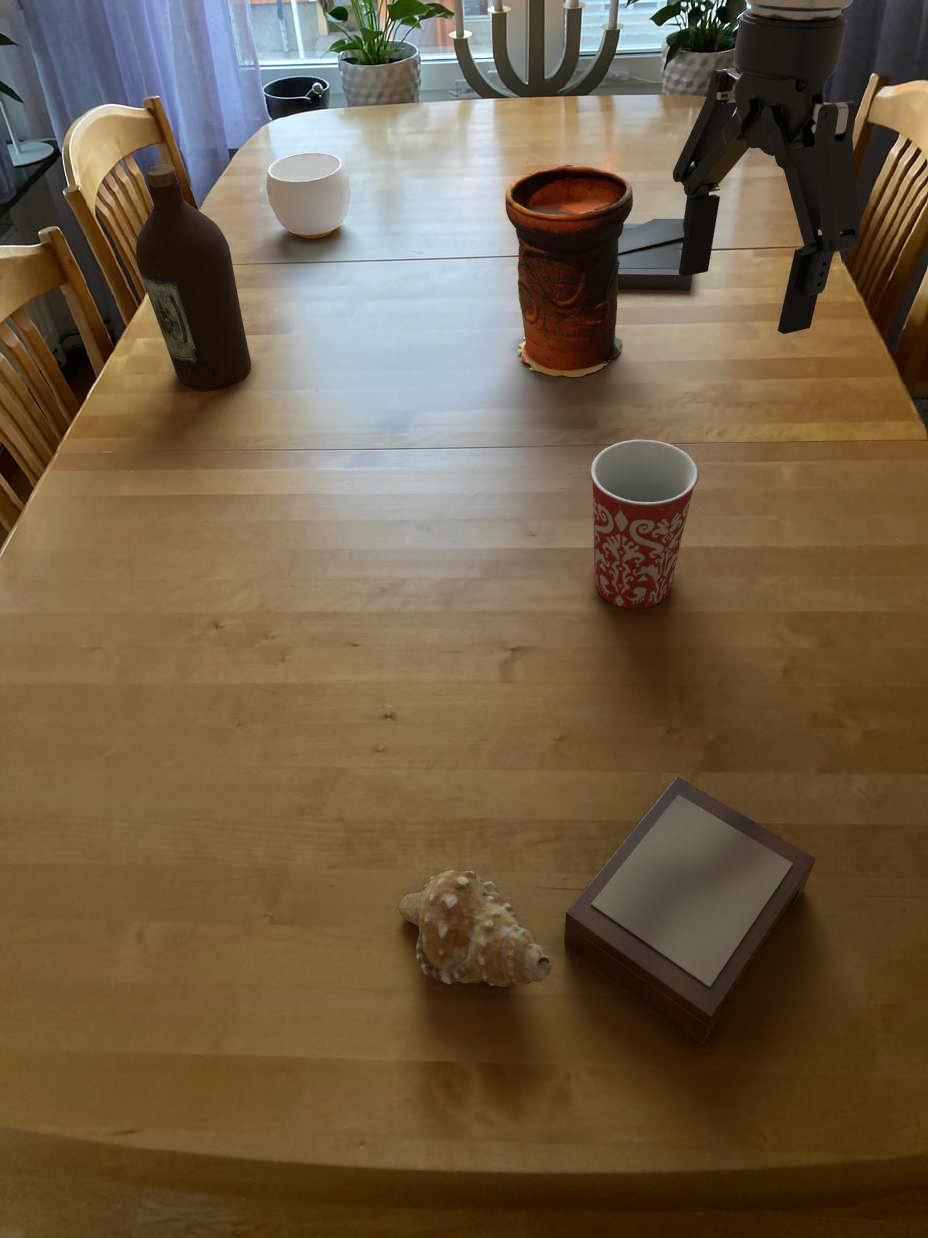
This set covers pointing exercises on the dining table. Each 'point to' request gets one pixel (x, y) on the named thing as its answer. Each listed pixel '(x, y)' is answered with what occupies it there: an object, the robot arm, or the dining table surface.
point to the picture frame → (652, 256)
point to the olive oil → (191, 288)
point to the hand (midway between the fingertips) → (740, 299)
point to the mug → (639, 519)
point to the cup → (309, 193)
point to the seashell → (471, 933)
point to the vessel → (568, 265)
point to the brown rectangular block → (686, 905)
